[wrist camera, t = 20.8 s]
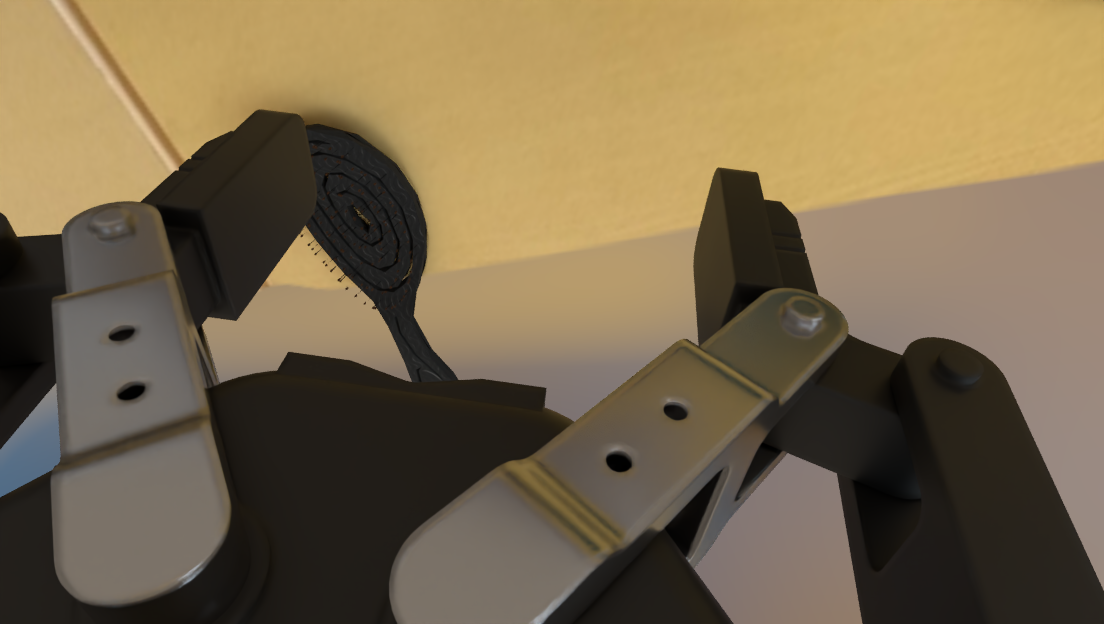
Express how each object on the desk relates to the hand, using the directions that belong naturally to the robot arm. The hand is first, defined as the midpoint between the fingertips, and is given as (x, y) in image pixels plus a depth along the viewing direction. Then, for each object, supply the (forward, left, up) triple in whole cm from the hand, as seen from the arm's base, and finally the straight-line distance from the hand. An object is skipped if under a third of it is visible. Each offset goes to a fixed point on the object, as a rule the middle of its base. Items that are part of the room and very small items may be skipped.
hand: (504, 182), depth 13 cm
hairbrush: (-12, -22, -25) cm, 36 cm away
